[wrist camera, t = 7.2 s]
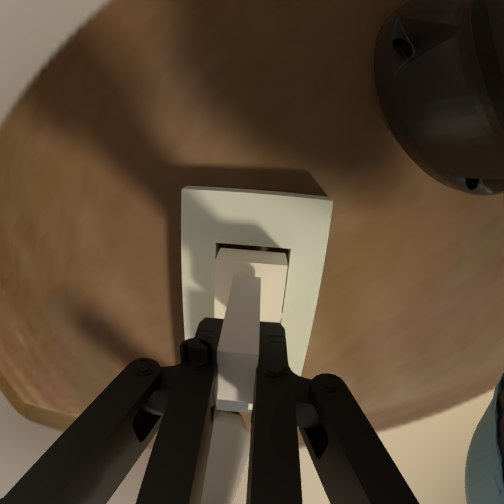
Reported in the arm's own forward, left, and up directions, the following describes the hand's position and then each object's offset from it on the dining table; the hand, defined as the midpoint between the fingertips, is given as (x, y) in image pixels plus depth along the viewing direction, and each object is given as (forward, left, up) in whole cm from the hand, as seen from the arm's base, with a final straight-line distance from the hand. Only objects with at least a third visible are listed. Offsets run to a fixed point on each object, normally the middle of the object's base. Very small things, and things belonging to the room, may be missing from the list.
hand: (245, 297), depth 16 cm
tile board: (+2, +3, -4) cm, 5 cm away
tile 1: (0, 0, -2) cm, 2 cm away
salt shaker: (+12, +12, -4) cm, 18 cm away
